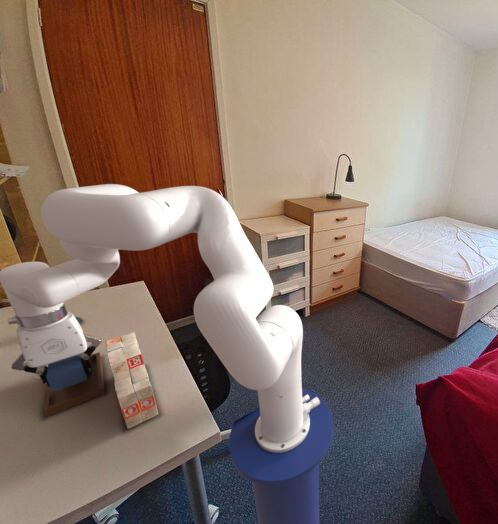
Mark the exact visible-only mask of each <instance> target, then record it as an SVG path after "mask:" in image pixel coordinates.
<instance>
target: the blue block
mask: <svg viewBox="0 0 498 524" xmlns="http://www.w3.org/2000/svg"><path fill="white" fill-rule="evenodd" d="M47 367H48V369H47V376H46V378H47V381H48V383H49V385H50V387H51V389H52V391H53V392H55V391H58V390H61V389H64V388H66V387H69V386H72V385H75V384H78V383H80V382H83V381H86V380H87V373H85V370H84V368H83V365H82V362H81V357H79V356H78V355H76V356H73V357H69V358H66V359H63V360H60V361H57V362H54V363H50V364H47Z"/></svg>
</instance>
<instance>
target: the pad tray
mask: <svg viewBox="0 0 498 524" xmlns="http://www.w3.org/2000/svg"><path fill="white" fill-rule="evenodd" d="M89 358H90V360H91V363H92V367H91V375H90V376H87V380H86V381H83V382H80V383H78V384H75V385H72V386H69V387H66V388H64V389H61V390H58V391H55V392H53V391H52V389H51V387H48V385H47V384H46V387H45V388H46V389H45V397H44V405H43V413H44V414H45V417H50V416H52V415H55V414H57V413H60V412H62V411H65V410H67V409H69V408H72V407H75V406H78V405H80V404H83V403H85V402H87V401H90V400H92V399H95V398H97V397H100V396H102V395H105V394H106V392H105V379H104V369H103V361H102V355H101V353H100V352H95V353H92V354H91V355H90V357H89Z"/></svg>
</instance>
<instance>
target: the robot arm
mask: <svg viewBox="0 0 498 524" xmlns="http://www.w3.org/2000/svg"><path fill="white" fill-rule="evenodd" d="M40 208H41V209H40V218H41V220H42V224H43V225H44V227H45V229H46V230H47V232H49V233H50V234H51V235H52V236H53V237H54V238H56V239H58V240H59V243H60V246H61V249H62V250H63V251H64V252H65V253H66V254H67V255H69V256H70V257H71V258H73V259H72V260H68V261H65V262H62V263H59V264H56V265H53V266H50V265H49V264H47V263H46V262H44V261H43V262H42V261H25V262H18V263H14V264H12V265H11V264H10V265H8V266H6V267H4V268H1V270H0V284H1V286H2V288H3V291H4V293H5V295H6V297H7V300H8V302H9V304H10V305H11V307H12V310H13V312H14V316H12V317H10V318H7V320H6V321H7V323H8V325H18V326H17V328H16V336H17V340H18V345H19V347H20V350H21V353H20V355H18V357H17V358H16V359H15V360H14V361H13V363H12V364H11V370H16V371H21V372H22V371H24V372H25V373H30V374H35V375H36V376H39V377H40V379H41V382H42V384H46V386H47V385H48V387H50V385H49V383H48V381H47V378H46V376H47V369H48V364H50V363H54V362H57V361H60V360H63V359H66V358H69V357H73V356H76V355H78V356H79V357H81V362H82V365H83V368H84V370H85V373H87V374H88V373H90V369H89V368H91V367H92V363H91V361H90V358H89V357H90V355H92V354H94V352H95V351H96V349H97V348H98V347H99V346H100V345H101V343H102V338H101V337H100V336H99V337H98V336H94V335H91V334H88V333H85V332H84V330H83V328H82V326H81V323H80V324H79V322H78V321H77V319H76V318H75V317H76V316H75V314H73V312H71V311H68V309H67V307H66V304H65V302H67V301H70V300H72V299H74V298H75V297H78V296H80V295H82V294H85V293H87V292H88V291H91V290H93V289H95V288H98V287H100V286H101V285H103V284H105V282H107V281H108V280H109V279H110V278H111V277H112V276H113V274H114V273H115V272H116V271H117V270H118V269H119V267H120V266H121V265H120V264H121V256H120V252H119V250H122V251H132V252H133V251H134V252H135V251H146V250H151V249H155V248H158V247H160V246H162V245H165V244H167V243H170V242H173V241H175V240H178V239H179V238H182V237H184V236H186V235H189V234H193V233H196V234H197V247H198V251H199V254H200V257H201V259H202V261H203V262H204V264H205V265H206V267H207V268H208V269H209V272H210V274H211V275H212V278H213V280H212V282H210V283H209V284H207V285H206V286H205V287H203V289H202V290H201V291H200V292H198V294H197V296H196V298H195V300H194V304H193V316H194V321H195V323H196V326H197V328H198V330H199V331H200V333H201V334H202V336H203V337H204V339H205V340H206V341H207V343H208V344H209V346H210V347H211V349H212V350H213V352H214V353H215V355H216V356H217V357H218V359H219V360H220V362H221V363H222V365H223V366H224V368H225V369H226V370H227V372H228V373H229V375H231V377H232V378H233V379H234V380H235V381H236V382H237V383H238V384H239V385H241V386H242V387H245V388H247V389H249V390H252V391H257V397H258V400H259V402H258V408H260V417H259V418H258V420H257V422H256V425H255V436H256V440H257V442H258V444H259V445H260V446H261V447H262V448H263V449H265V450H267V451H269V452H274V453H281V452H286V451H289V450H291V449H293V448H295V447H296V446H298V445H299V444H300V443H301V442H302V441H303V440H304V439H305V437H306V435H307V434H308V431H309V426H310V419H309V415H308V413H309V412H310V410H311V409H313V408H315V407H316V406H318V405H319V404H320V401H319V399H318V398H317V397H315V398H314V399H312V400H311V401H310V402H308V403H304V402H306V401H308V400H309V399H310V397H309V395H308V394H307V395H305V396H304V397H303V398H302V389H303V386H302V385H303V383H302V350H303V339H304V328H303V323H302V319H301V316H299V314H298V313H297V312H296V311H295V310H294V309H293V308H291V307H290V306H288V305H284V304H276V305H272V306H270V307H268V308H266V309H265V307H266V306H267V305H268V303H269V302H270V300H271V299H272V297H273V295H274V291H275V288H274V287H275V286H274V284H273V281H272V278H271V276H270V275H269V273H268V271H267V270H266V267H265V266H264V264H263V262H262V261H261V258H260V257H259V256H258V255H259V254H258V253H257V252H256V250H255V249H254V247H253V245H252V243H251V241H250V240H249V239H248V237H247V235H246V233H245V232H244V229H243V227H242V225H241V223H240V221H239V219H238V217H237V215H236V213H235V211H234V209H233V208H232V206H231V205H230V203H229V202H228V200H226V198H225V197H224V196H222V195H221V194H220V193H218V192H217V191H215V190H213V189H211V188H208V187H206V186H205V187H204V186H200V185H181V186H172V187H165V188H159V189H155V190H149V191H142V192H139V191H137V190H136V189H134V188H132V187H130V186H127V185H123V184H119V183H118V184H116V183H105V184H96V185H86V186H78V187H76V186H75V187H68V188H62V189H59V190H56V191H53V192H52V193H51V194H48V195H47V196H46V198H45V199H44V201H43V202H42V204H41V207H40ZM264 309H265V310H264ZM88 343H91V344H90V345H88ZM303 403H304V404H303Z"/></svg>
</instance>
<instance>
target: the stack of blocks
mask: <svg viewBox="0 0 498 524" xmlns="http://www.w3.org/2000/svg"><path fill="white" fill-rule="evenodd" d="M136 336H137V335H136V332H135V331H133V332H130V333H126V334H123V335H120V336H117V337H113V338H110V339H108V340H105V345H106V346H105V348H106V352H107V353H106V354H107V359H108V362H109V366H110V369H111V372H112V375H113V380H114V390H115V394H116V396H117V401H118V404H119V406H120V411H121V414H122V417H123V419H124V422H125V425H126V428H127V430H129V429H131V428H133V427H136V426H137V425H140V424H142V423H143V422H145V421H148V420H150V419H152V418H154V417H156V416H158V415H159V410H158V406H157V401H156V398H155V393H154V390H153V387H152V383H151V380H150V377H149V374H148V371H147V368H146V365H145V362H144V358H143V355H142V352H141V348H140V346H139V342H138V340H137V337H136Z"/></svg>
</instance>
